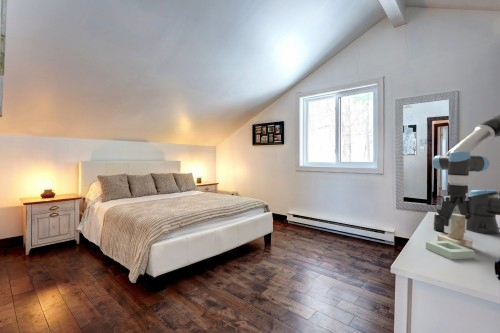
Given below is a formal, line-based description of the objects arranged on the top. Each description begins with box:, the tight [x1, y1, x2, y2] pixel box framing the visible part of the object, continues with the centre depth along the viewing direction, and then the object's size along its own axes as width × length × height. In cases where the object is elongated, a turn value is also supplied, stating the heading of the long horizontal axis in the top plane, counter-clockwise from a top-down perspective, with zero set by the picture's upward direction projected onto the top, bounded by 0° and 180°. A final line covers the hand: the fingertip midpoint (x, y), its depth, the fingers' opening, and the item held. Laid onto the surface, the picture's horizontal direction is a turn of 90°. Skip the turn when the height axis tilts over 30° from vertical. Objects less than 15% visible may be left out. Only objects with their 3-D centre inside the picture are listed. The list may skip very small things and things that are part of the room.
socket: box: [425, 240, 475, 260], centre depth 108 cm, size 11×12×3 cm
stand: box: [437, 234, 473, 249], centre depth 119 cm, size 9×9×3 cm
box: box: [447, 213, 465, 239], centre depth 119 cm, size 5×4×11 cm
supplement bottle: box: [433, 208, 445, 233], centre depth 141 cm, size 7×7×12 cm
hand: (454, 232), depth 119 cm, fingers open, 8 cm apart
